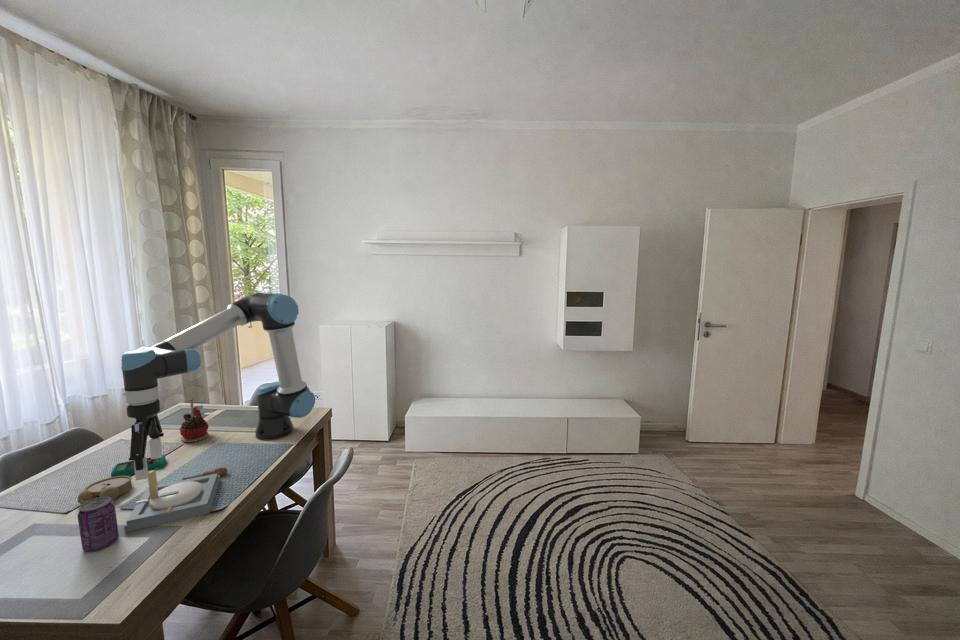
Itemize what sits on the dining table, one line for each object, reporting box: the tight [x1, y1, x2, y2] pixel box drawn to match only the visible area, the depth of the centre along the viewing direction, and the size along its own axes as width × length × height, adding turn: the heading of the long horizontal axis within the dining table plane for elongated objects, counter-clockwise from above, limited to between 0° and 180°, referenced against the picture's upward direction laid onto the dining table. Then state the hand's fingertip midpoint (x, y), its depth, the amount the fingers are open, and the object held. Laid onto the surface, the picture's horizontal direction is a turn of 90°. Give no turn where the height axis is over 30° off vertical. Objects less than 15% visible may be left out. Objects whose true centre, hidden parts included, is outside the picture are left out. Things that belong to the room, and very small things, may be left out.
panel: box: [123, 473, 221, 533], centre depth 122 cm, size 20×20×3 cm
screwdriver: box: [181, 466, 228, 480], centre depth 136 cm, size 13×3×3 cm, turn 116°
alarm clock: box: [77, 475, 133, 506], centre depth 125 cm, size 11×5×15 cm
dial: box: [147, 469, 202, 510], centre depth 121 cm, size 13×13×10 cm
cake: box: [179, 398, 209, 443], centre depth 165 cm, size 11×9×18 cm
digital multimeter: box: [110, 454, 167, 478], centre depth 142 cm, size 7×15×3 cm, turn 122°
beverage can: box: [77, 497, 120, 552], centre depth 103 cm, size 7×7×12 cm
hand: (149, 468), depth 117 cm, fingers open, 13 cm apart
